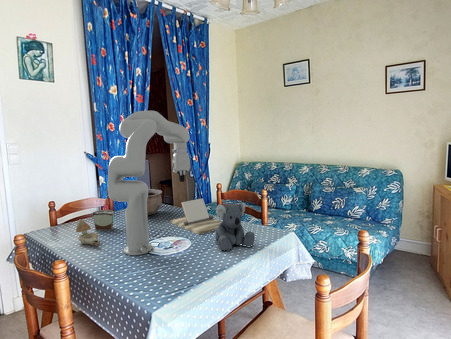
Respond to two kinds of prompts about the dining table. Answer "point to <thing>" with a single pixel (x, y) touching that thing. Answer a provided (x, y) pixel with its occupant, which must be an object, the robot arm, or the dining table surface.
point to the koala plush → (232, 227)
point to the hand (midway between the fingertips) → (181, 181)
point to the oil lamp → (86, 234)
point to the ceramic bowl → (153, 201)
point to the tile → (195, 211)
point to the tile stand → (197, 225)
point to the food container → (103, 219)
